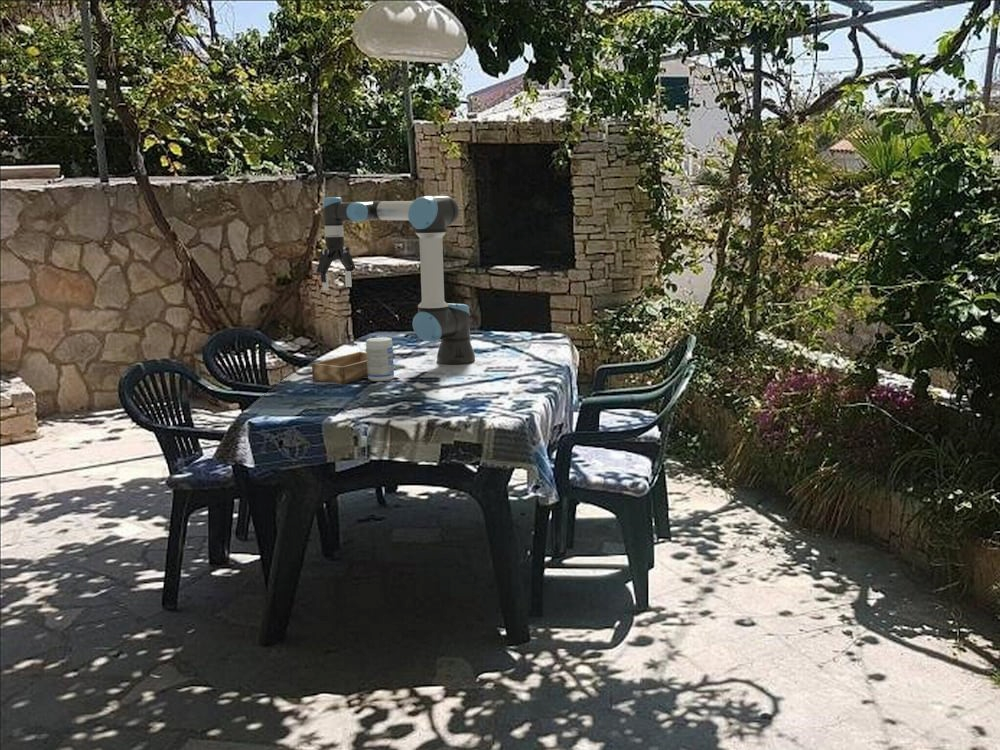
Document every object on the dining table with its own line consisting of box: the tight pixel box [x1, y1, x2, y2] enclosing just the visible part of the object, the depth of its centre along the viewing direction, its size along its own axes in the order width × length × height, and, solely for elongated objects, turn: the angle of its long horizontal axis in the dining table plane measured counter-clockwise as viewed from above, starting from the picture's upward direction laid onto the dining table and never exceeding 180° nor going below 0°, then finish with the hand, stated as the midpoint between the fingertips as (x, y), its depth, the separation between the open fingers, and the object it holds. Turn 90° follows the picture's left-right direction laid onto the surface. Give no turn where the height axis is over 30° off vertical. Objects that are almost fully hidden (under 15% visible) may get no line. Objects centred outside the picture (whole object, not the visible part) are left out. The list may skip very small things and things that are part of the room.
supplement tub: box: [365, 336, 395, 382], centre depth 320 cm, size 10×10×15 cm
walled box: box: [311, 351, 368, 385], centre depth 328 cm, size 15×26×6 cm, turn 147°
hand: (337, 288), depth 361 cm, fingers open, 13 cm apart
